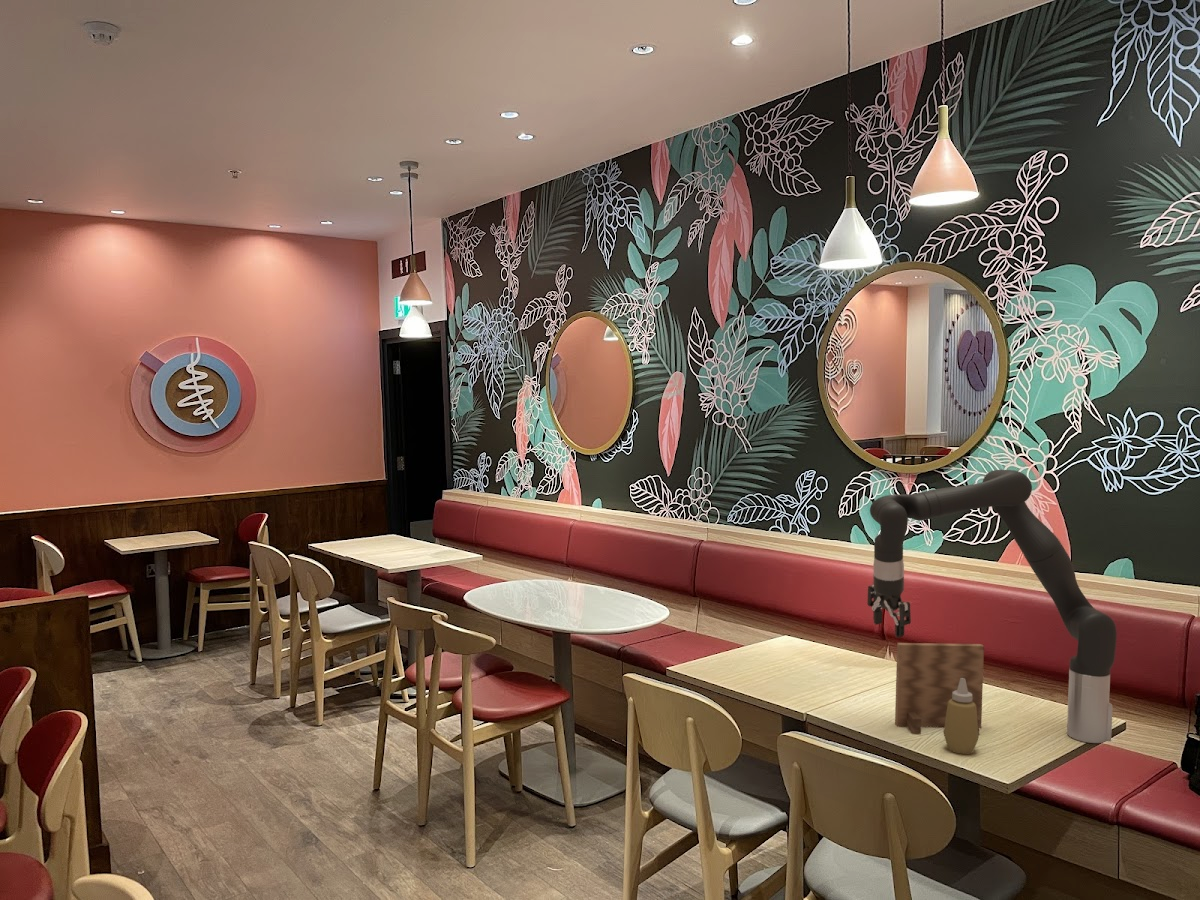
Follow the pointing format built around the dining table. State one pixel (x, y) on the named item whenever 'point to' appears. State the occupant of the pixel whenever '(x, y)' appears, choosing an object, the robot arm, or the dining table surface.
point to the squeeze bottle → (961, 721)
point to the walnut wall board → (935, 681)
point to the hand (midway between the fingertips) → (888, 629)
